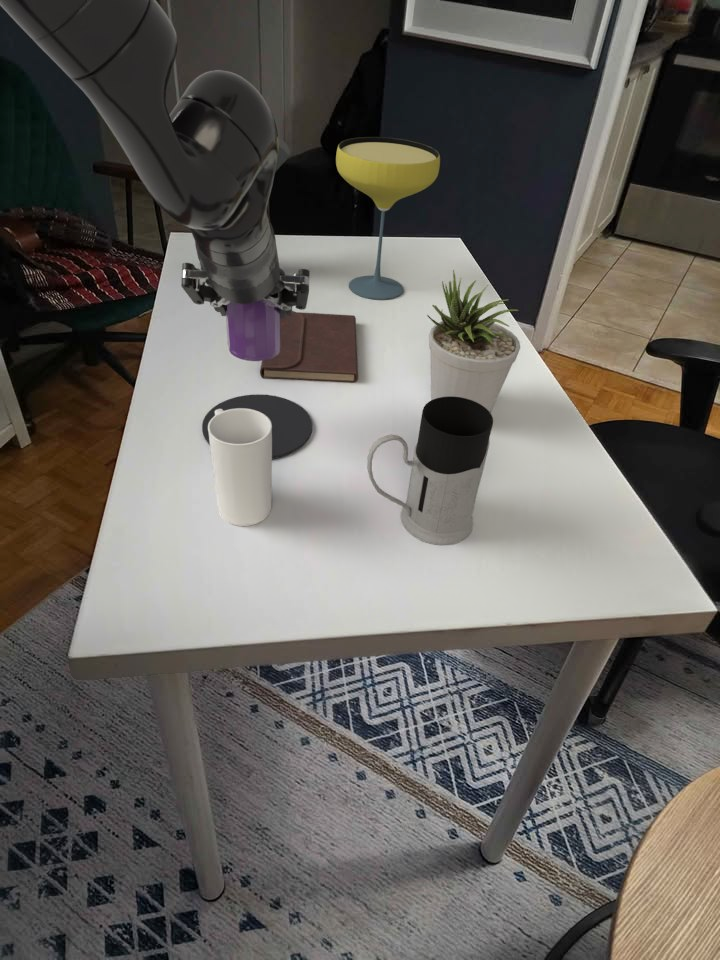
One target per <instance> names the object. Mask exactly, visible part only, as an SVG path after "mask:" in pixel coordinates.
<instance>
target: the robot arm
mask: <svg viewBox="0 0 720 960" xmlns="http://www.w3.org/2000/svg"><path fill="white" fill-rule="evenodd" d="M0 7H1V8H2V9H3V10H4V11H5V12H6V13H7V14H8V16H9V17H10V18H11V19H12V20H13V21H14V22H15V23H16V24H17V25H18V26H19V27H20V29H22V30H23V31H24V33H26V34H27V36H29V38H30V39H32V41H33V42H34V43H35V44H36V45H37V46H38V47H39V48H40V49H41V50H42V51H43V52H44V53H45V54H46V55H47V56H48V57H49V58H50V59H51V60H52V61H53V63H55V64H56V65H57V66H58V67H59V69H61V70H62V72H63V73H64V74H65V75H66V76H67V77H68V78H70V79H71V81H72V82H73V83H74V84H75V85H76V86H77V87H78V88H79V89H80V90H81V91H82V92H83V93H84V95H85V96H86V97H87V98H88V100H89V102H91V104H92V105H93V107H94V108H95V109H96V111H97V112H98V113H99V115H100V117H101V118H102V120H104V123H105V124H106V125H107V127H108V129H109V130H110V131H111V133H112V134H113V136H114V138H115V139H116V141H117V143H118V144H119V146H120V147H121V149H122V151H123V153H124V154H125V156H126V157H127V159H128V160H129V163H130V164H131V166H132V168H133V169H134V172H135V173H136V175H137V176H138V178H139V180H140V181H141V183H142V185H143V186H144V187H145V189H146V191H147V192H148V193H149V195H150V196H151V197H152V199H153V200H154V202H155V203H156V205H158V206H159V207H160V209H162V210H163V211H164V213H166V214H167V215H168V216H170V217H171V218H172V219H173V220H175V221H176V222H177V223H179V224H181V225H183V226H185V227H187V228H189V231H190V232H191V235H192V238H193V240H194V244H195V245H194V246H195V250H196V255H197V258H198V261H199V263H200V262H201V263H202V266H203V268H204V270H200V267H196V266H195V265H194V264H193V263H191V262H183V263H182V267H181V285H180V286H181V288H182V289H183V291H184V292H185V293H186V295H187V296H188V297H189V299H190V300H191V301H192V302H193V304H196V305H204V304H205V302H208V303H209V306H210V307H212V308H213V309H214V311H215V312H216V313H220V315H221V317H226V311H225V305H228V304H229V303H231V302H233V303H238V304H249V303H254V302H257V301H261V302H262V303H264V304H266V305H268V306H269V307H278V308H279V311H280V316H281V319H287V316H291V315H292V311H293V307H295V309H297V310H300V311H302V310H306V309H307V306H308V305H307V304H308V299H309V294H310V274H311V273H310V270H309V269H306V268H300V269H298V273H296V272H295V273H294V274H286V272H285V271H284V270H283V269H282V268H281V267H280V261H279V255H278V246H277V240H276V235H275V231H274V227H273V225H272V223H271V218H270V212H269V211H270V210H269V206H268V204H269V200H270V197H271V193H272V189H273V186H274V179H275V174H276V172H275V170H276V164H277V158H278V137H279V134H278V127H277V124H276V120H275V117H274V115H273V112H272V110H271V107H270V106H269V104H268V103H267V101H266V99H265V98H264V96H263V95H262V94H261V92H260V91H259V90H258V89H257V88H256V87H255V85H253V84H252V83H251V82H250V81H248V80H247V79H245V78H244V77H242V76H241V75H239V74H237V73H234V72H232V71H228V70H222V69H215V70H209V71H206V72H203V73H201V74H200V75H198V76H197V77H196V78H194V79H193V80H192V81H191V82H190V84H189V85H188V86H187V88H186V89H185V91H184V92H183V94H182V95H181V97H179V99H178V102H176V104H175V106H173V108H172V110H171V111H170V113H169V109H168V106H167V89H168V85H169V81H170V77H171V74H172V70H173V68H174V64H175V62H176V57H177V53H178V46H179V45H178V44H179V41H178V35H177V32H176V28H175V27H174V24H173V22H172V21H171V19H170V18H169V17H168V14H167V13H166V11H164V9H163V8H162V6H161V5H160V4H159V2H158V1H157V0H0Z"/></svg>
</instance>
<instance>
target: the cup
mask: <svg viewBox="0 0 720 960" xmlns="http://www.w3.org/2000/svg"><path fill="white" fill-rule="evenodd" d="M225 311H226V316H225V324H226V339H227V346H228V351H229V354H230V355H232V356H233V357H235V358H236V359H239V360H243V361H249V362H262V360H267V359H271V358H273V357H275V356H276V355H278V354H279V352H280V350H281V316H280V311H279V308H278V307H269V306H268V305H266V304H264V303H262V302H261V301H257V302H254V303H249V304H238V303H233V302H231V303H229V304H228V305H225Z"/></svg>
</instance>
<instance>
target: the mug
mask: <svg viewBox="0 0 720 960" xmlns="http://www.w3.org/2000/svg"><path fill="white" fill-rule="evenodd" d="M208 432H209V442H210V445H209V449H210V457H211V464H212V471H213V472H212V473H213V481H214V488H215V489H214V490H215V496H216V504H217V511H218V514H219V516H220V517H221V519H222V520H223V521H225V522H227V523H228V524H231V525H233V526H239V527H249V526H253V525H257V524H260V523H261V522H263V521H264V520H265V519H267V518H268V516H269V515H270V513H271V511H272V494H273V493H272V492H273V480H272V479H273V459H272V424H271V421H270V419H269V418H268V417H267V416H266V415H264V414H263V413H261V412H259V411H256V410H252V409H245V408H236V409H229V410H225V411H223V410H222V409H217V410H215V416H214V417H213V418H212V419H211V420H210V422H209V424H208Z"/></svg>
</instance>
